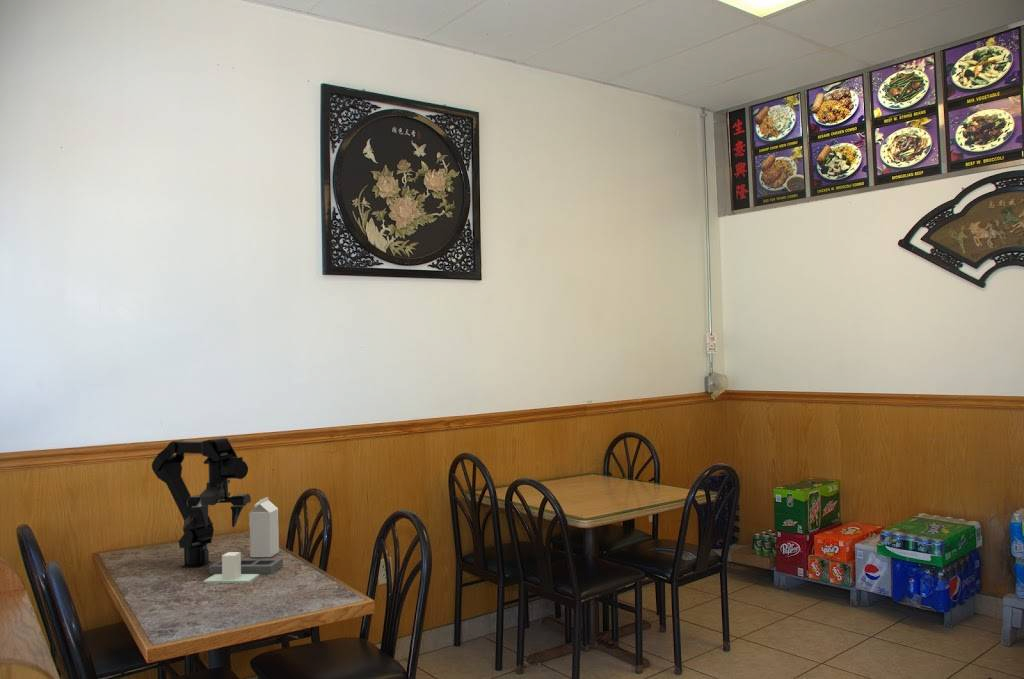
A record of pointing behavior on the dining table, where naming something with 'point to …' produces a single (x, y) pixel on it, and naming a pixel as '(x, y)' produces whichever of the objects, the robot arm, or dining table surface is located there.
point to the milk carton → (264, 529)
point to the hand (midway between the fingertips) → (219, 527)
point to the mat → (241, 579)
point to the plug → (231, 565)
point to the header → (251, 566)
